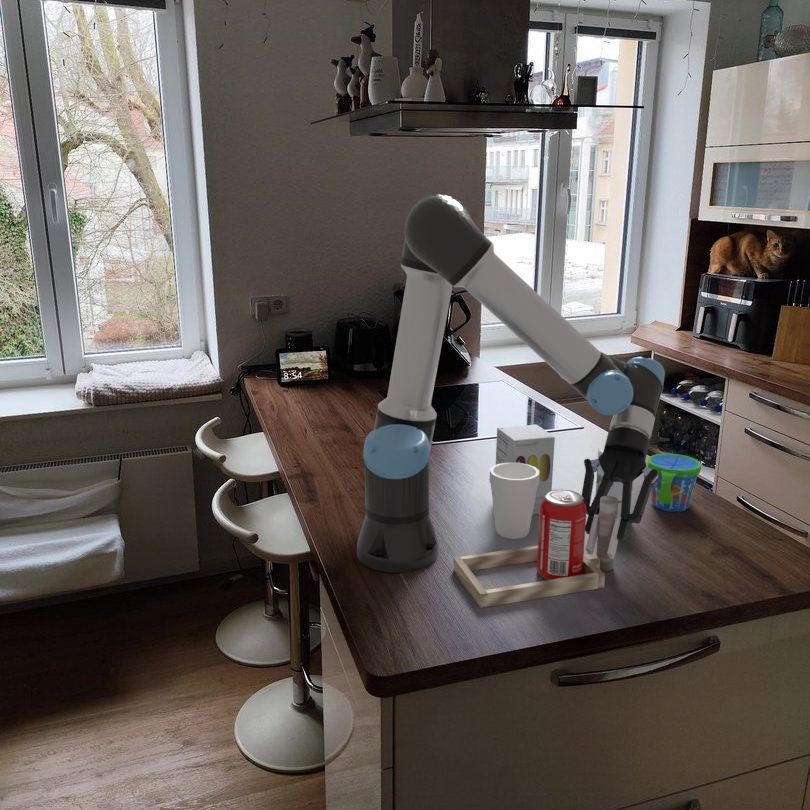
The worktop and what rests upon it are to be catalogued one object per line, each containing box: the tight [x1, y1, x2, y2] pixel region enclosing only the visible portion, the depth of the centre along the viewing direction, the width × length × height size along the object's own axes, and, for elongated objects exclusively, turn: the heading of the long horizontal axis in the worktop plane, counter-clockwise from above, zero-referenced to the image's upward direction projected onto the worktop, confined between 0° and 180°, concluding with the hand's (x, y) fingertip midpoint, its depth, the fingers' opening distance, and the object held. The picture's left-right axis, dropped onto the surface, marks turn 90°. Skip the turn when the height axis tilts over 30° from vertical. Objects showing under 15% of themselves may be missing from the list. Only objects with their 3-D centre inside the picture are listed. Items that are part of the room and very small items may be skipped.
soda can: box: [536, 489, 587, 580], centre depth 133 cm, size 8×8×15 cm
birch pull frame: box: [453, 496, 618, 609], centre depth 132 cm, size 28×13×13 cm, turn 106°
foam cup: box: [489, 463, 540, 540], centre depth 150 cm, size 10×9×13 cm
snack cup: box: [646, 453, 702, 513], centre depth 162 cm, size 16×10×10 cm
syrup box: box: [595, 448, 634, 520], centre depth 155 cm, size 6×6×14 cm
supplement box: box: [495, 424, 556, 516], centre depth 161 cm, size 10×9×17 cm
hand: (599, 553), depth 133 cm, fingers closed on birch pull frame, 3 cm apart
